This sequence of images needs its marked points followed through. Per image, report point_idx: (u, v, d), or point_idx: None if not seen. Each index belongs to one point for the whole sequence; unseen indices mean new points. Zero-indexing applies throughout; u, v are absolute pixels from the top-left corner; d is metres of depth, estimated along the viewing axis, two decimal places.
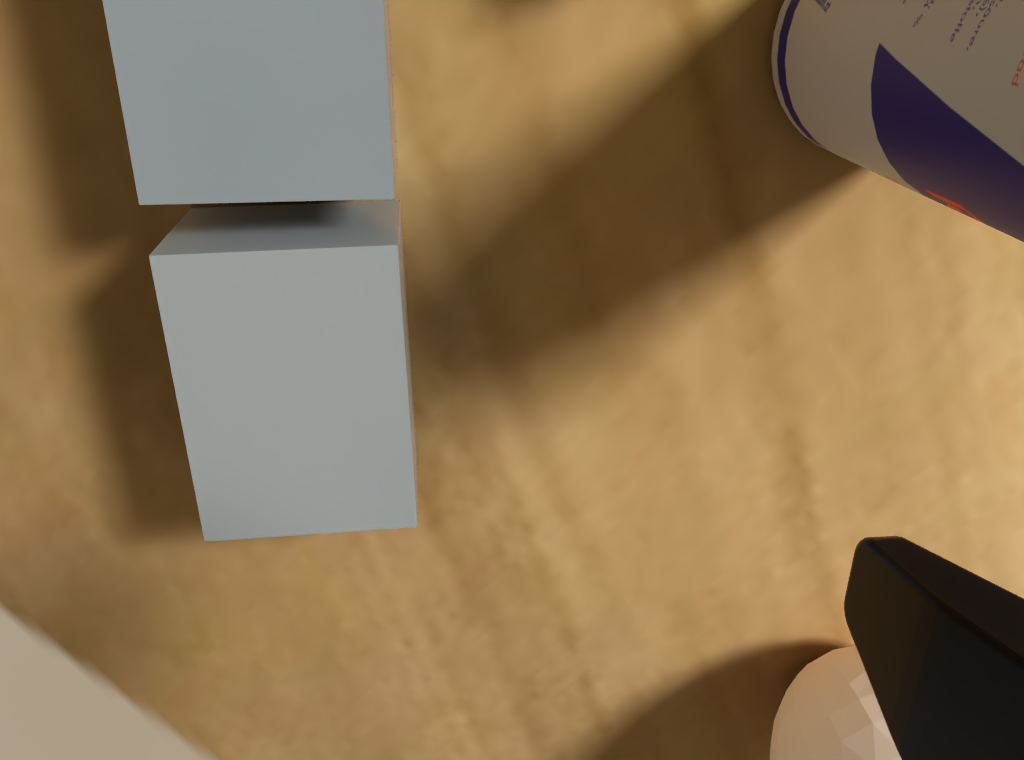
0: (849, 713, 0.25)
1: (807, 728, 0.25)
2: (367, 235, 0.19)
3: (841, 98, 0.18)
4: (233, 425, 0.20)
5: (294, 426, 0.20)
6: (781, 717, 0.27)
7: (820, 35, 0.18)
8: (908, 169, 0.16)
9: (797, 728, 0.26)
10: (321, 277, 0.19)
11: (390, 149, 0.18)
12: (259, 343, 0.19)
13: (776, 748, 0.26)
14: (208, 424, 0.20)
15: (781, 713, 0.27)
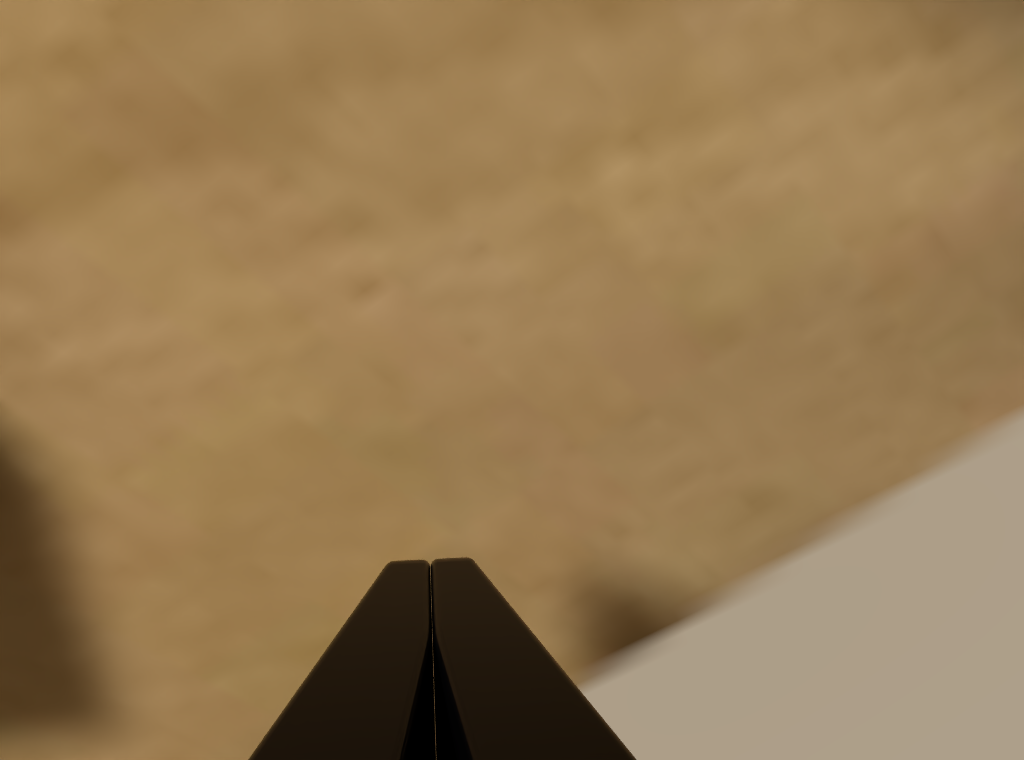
0: None
1: None
2: None
3: None
4: None
5: None
6: None
7: None
8: None
9: None
10: None
11: None
12: None
13: None
14: None
15: None
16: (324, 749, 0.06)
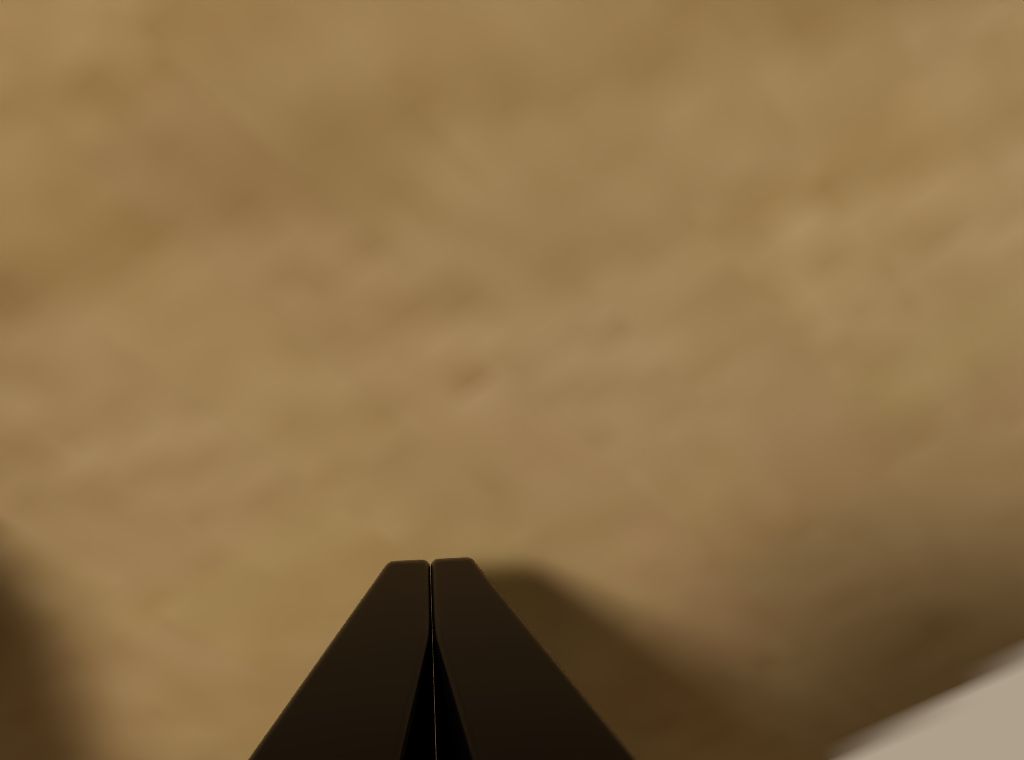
0: None
1: None
2: None
3: None
4: None
5: None
6: None
7: None
8: None
9: None
10: None
11: None
12: None
13: None
14: None
15: None
16: (324, 749, 0.06)
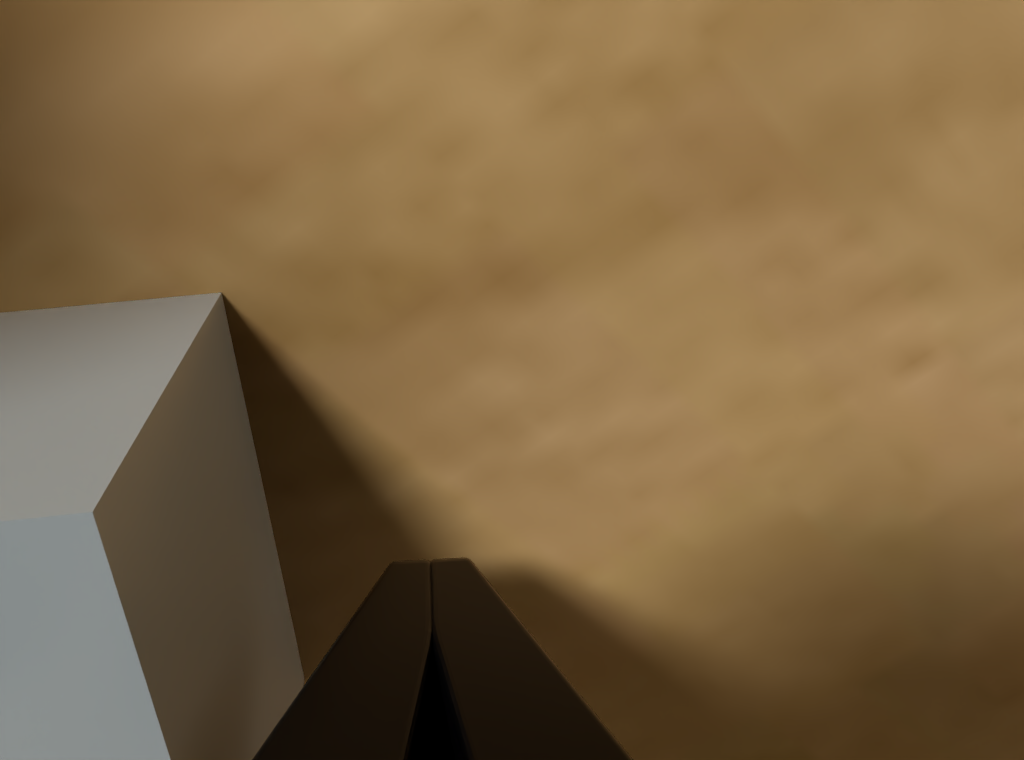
0: None
1: None
2: None
3: None
4: None
5: None
6: None
7: None
8: None
9: None
10: None
11: None
12: None
13: None
14: None
15: None
16: (328, 748, 0.06)
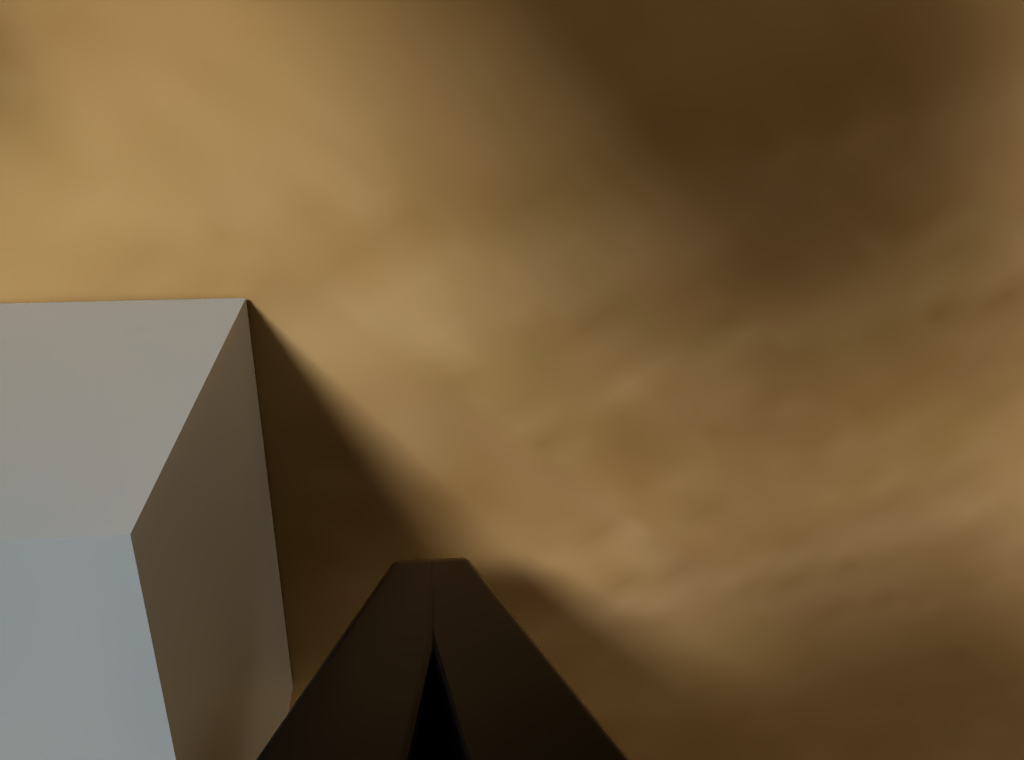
0: None
1: None
2: None
3: None
4: None
5: None
6: None
7: None
8: None
9: None
10: None
11: None
12: None
13: None
14: None
15: None
16: (331, 748, 0.06)
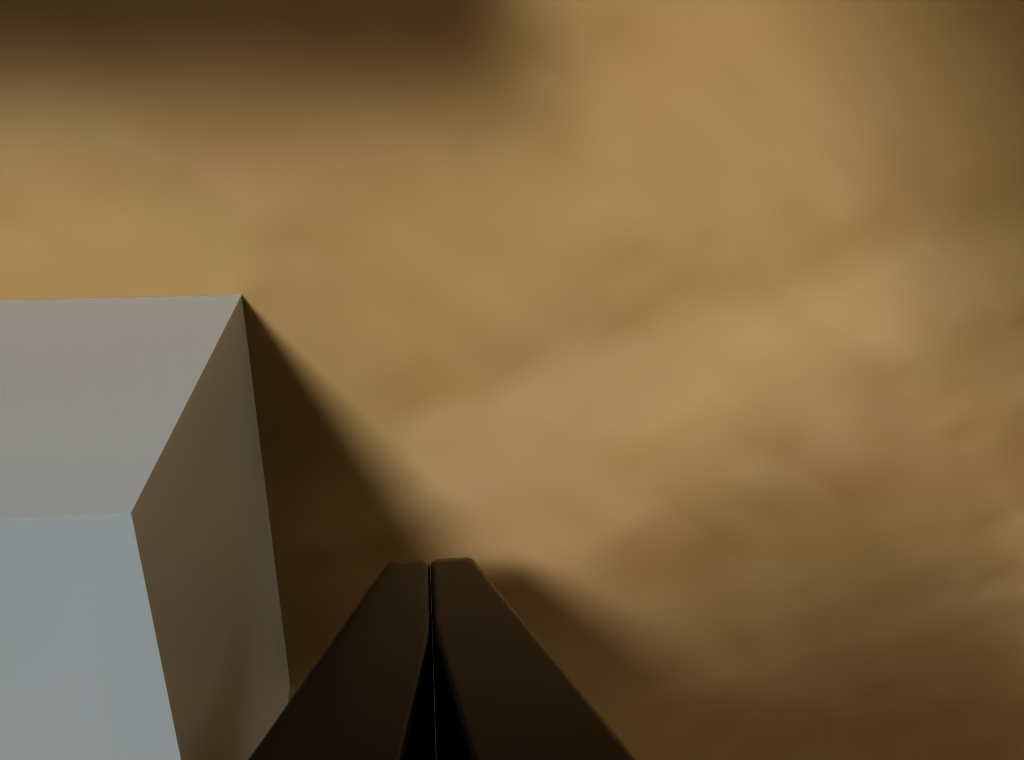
0: None
1: None
2: None
3: None
4: None
5: None
6: None
7: None
8: None
9: None
10: None
11: None
12: None
13: None
14: None
15: None
16: (324, 749, 0.06)
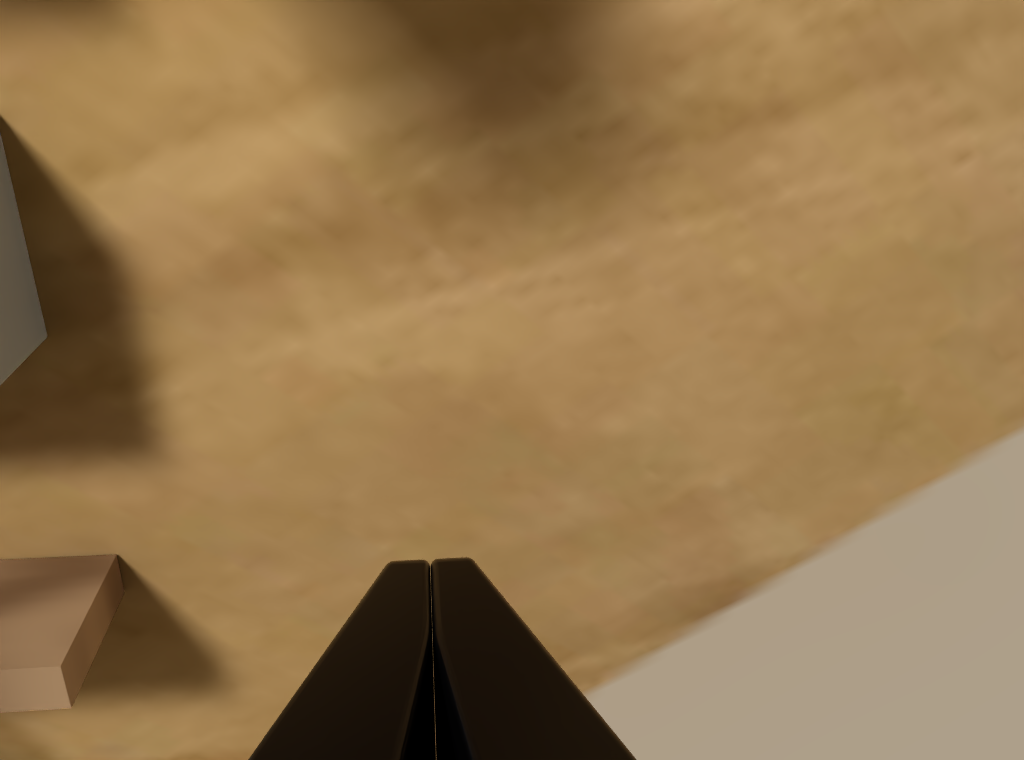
0: None
1: None
2: None
3: None
4: None
5: None
6: None
7: None
8: None
9: None
10: None
11: None
12: None
13: None
14: None
15: None
16: (324, 749, 0.06)
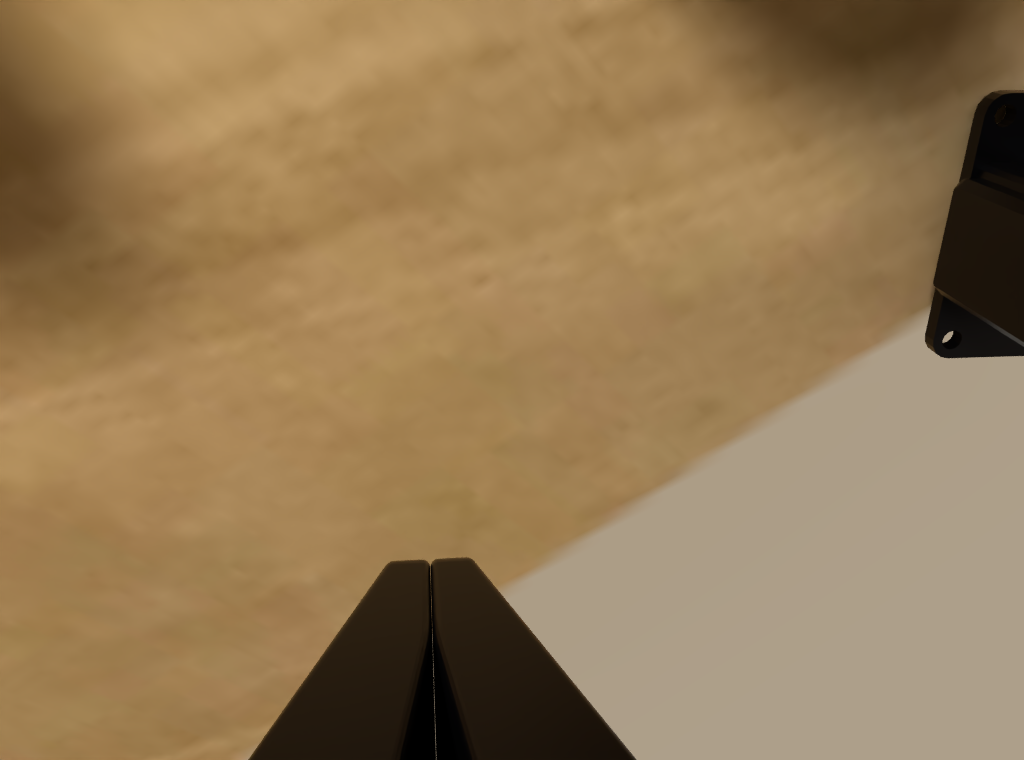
0: None
1: None
2: None
3: None
4: None
5: None
6: None
7: None
8: None
9: None
10: None
11: None
12: None
13: None
14: None
15: None
16: (324, 749, 0.06)
